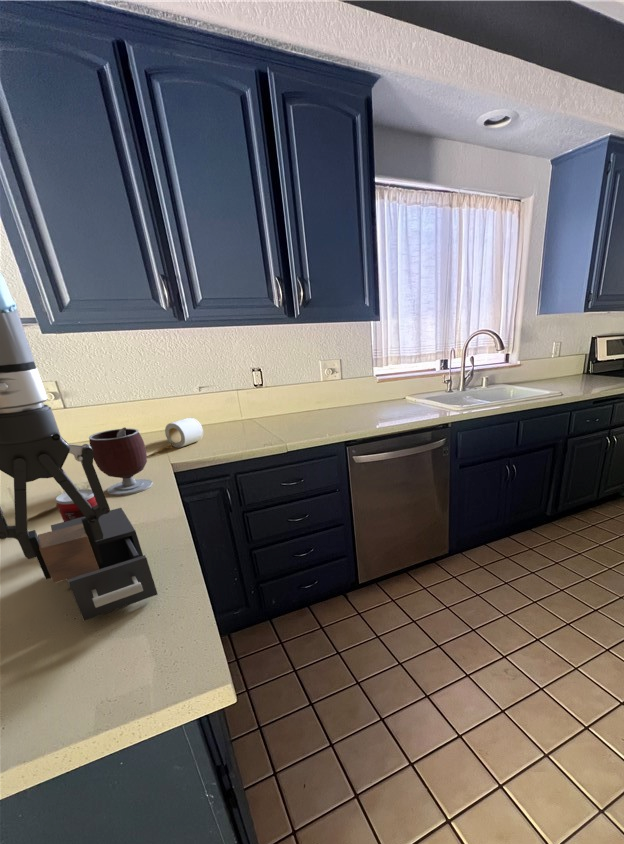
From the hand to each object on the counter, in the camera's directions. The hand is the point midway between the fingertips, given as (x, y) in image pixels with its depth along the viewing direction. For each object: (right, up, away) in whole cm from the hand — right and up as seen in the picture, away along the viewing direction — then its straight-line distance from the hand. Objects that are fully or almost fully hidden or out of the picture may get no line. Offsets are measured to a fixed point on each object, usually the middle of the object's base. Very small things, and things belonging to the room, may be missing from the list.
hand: (74, 566), depth 63 cm
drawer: (-4, -8, +16) cm, 18 cm away
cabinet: (-12, -4, +26) cm, 29 cm away
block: (0, 0, 0) cm, 0 cm away
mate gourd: (-33, +15, +70) cm, 78 cm away
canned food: (-25, +2, +40) cm, 48 cm away
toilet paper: (-37, +36, +115) cm, 126 cm away
